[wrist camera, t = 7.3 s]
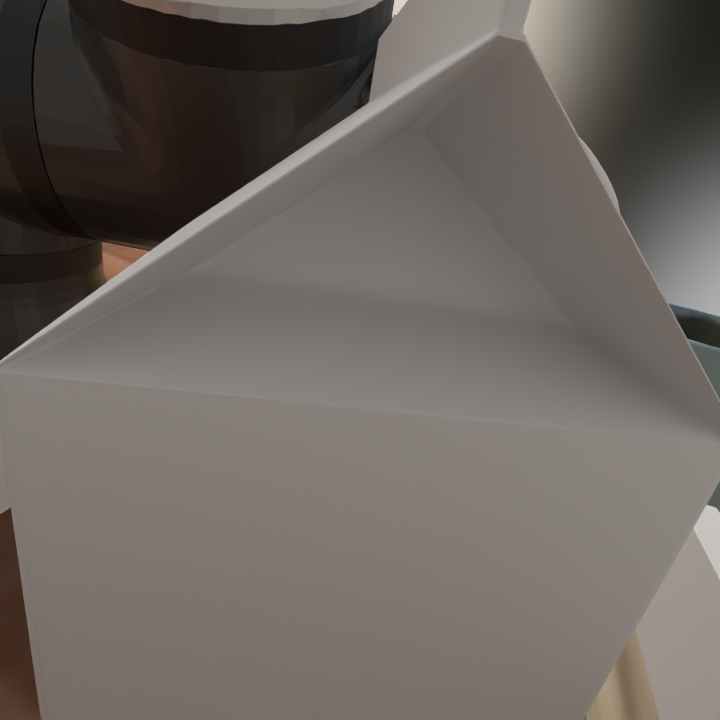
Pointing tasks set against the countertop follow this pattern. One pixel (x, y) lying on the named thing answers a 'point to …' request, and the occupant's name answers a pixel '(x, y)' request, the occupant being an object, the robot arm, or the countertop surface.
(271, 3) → the robot arm
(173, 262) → the milk carton
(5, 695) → the countertop surface
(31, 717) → the countertop surface
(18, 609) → the countertop surface
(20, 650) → the countertop surface
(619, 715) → the base block
